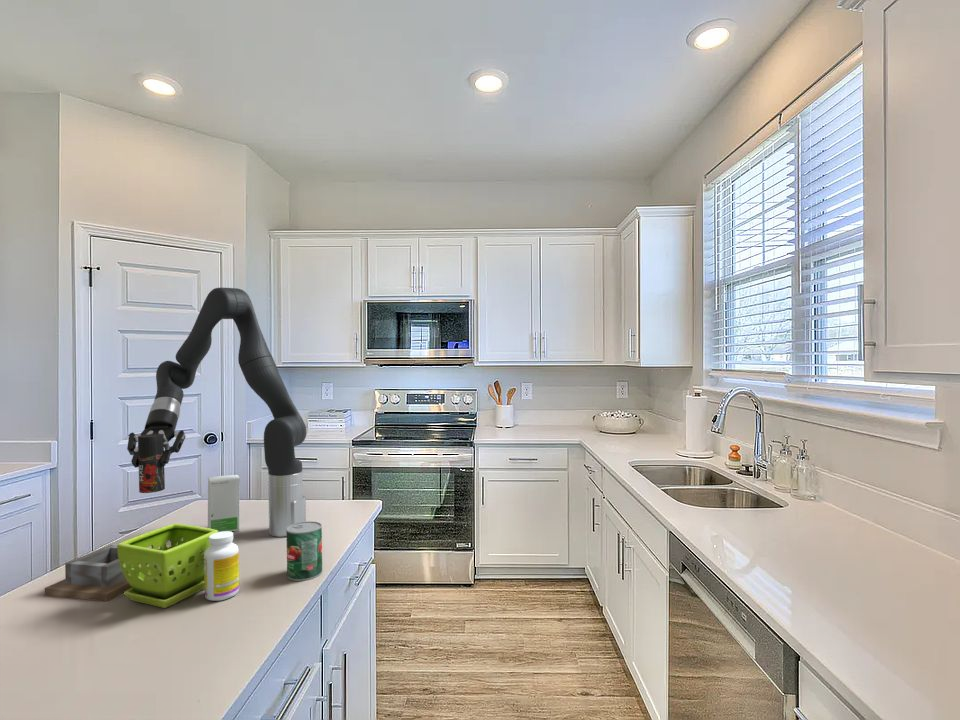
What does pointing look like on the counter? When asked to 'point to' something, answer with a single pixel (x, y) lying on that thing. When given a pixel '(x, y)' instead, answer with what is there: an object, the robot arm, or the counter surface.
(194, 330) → the robot arm
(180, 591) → the flower pot
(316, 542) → the canned tomato
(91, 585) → the jig
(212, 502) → the skincare box
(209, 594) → the supplement bottle
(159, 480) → the deodorant
